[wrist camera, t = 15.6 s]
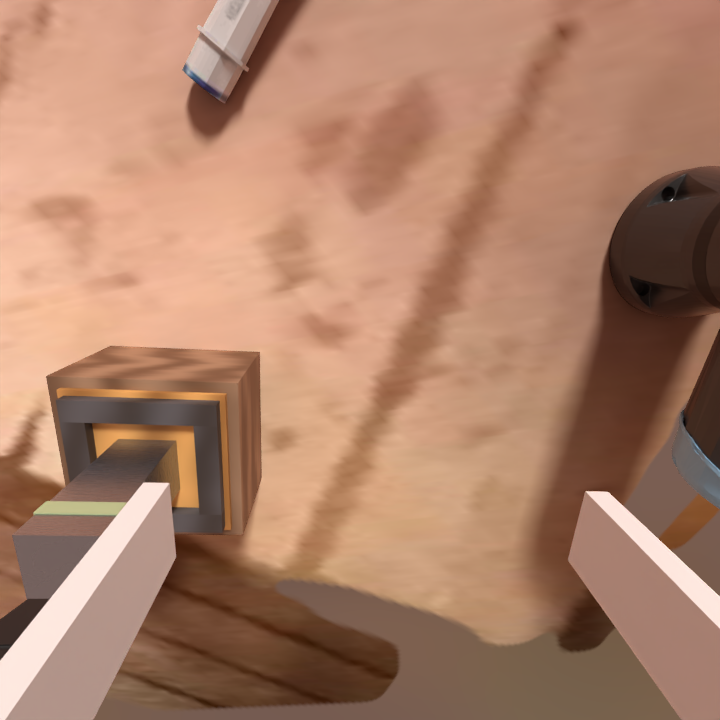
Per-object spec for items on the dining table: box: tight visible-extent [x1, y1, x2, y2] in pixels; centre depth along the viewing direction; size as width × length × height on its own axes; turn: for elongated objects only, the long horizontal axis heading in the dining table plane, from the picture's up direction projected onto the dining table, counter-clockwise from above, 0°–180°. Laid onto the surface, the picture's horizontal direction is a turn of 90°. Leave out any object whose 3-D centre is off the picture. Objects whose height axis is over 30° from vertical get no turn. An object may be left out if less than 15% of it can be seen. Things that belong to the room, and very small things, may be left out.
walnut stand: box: [46, 346, 261, 535], centre depth 41 cm, size 16×16×12 cm
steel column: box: [12, 439, 180, 599], centre depth 30 cm, size 5×5×12 cm
